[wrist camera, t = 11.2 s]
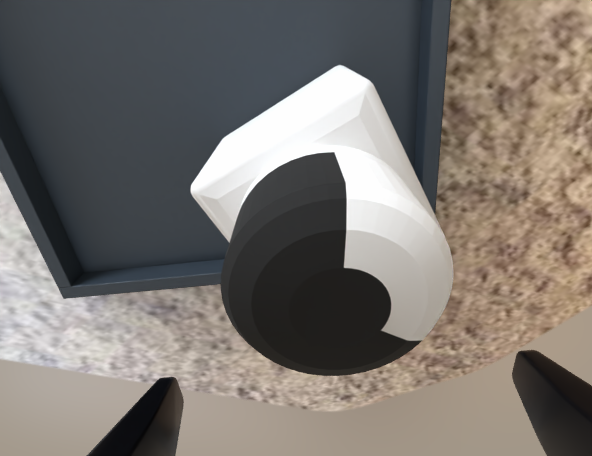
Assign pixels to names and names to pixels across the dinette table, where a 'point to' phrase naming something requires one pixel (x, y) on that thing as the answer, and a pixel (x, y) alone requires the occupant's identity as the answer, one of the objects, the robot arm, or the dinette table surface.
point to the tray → (181, 115)
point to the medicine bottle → (326, 232)
